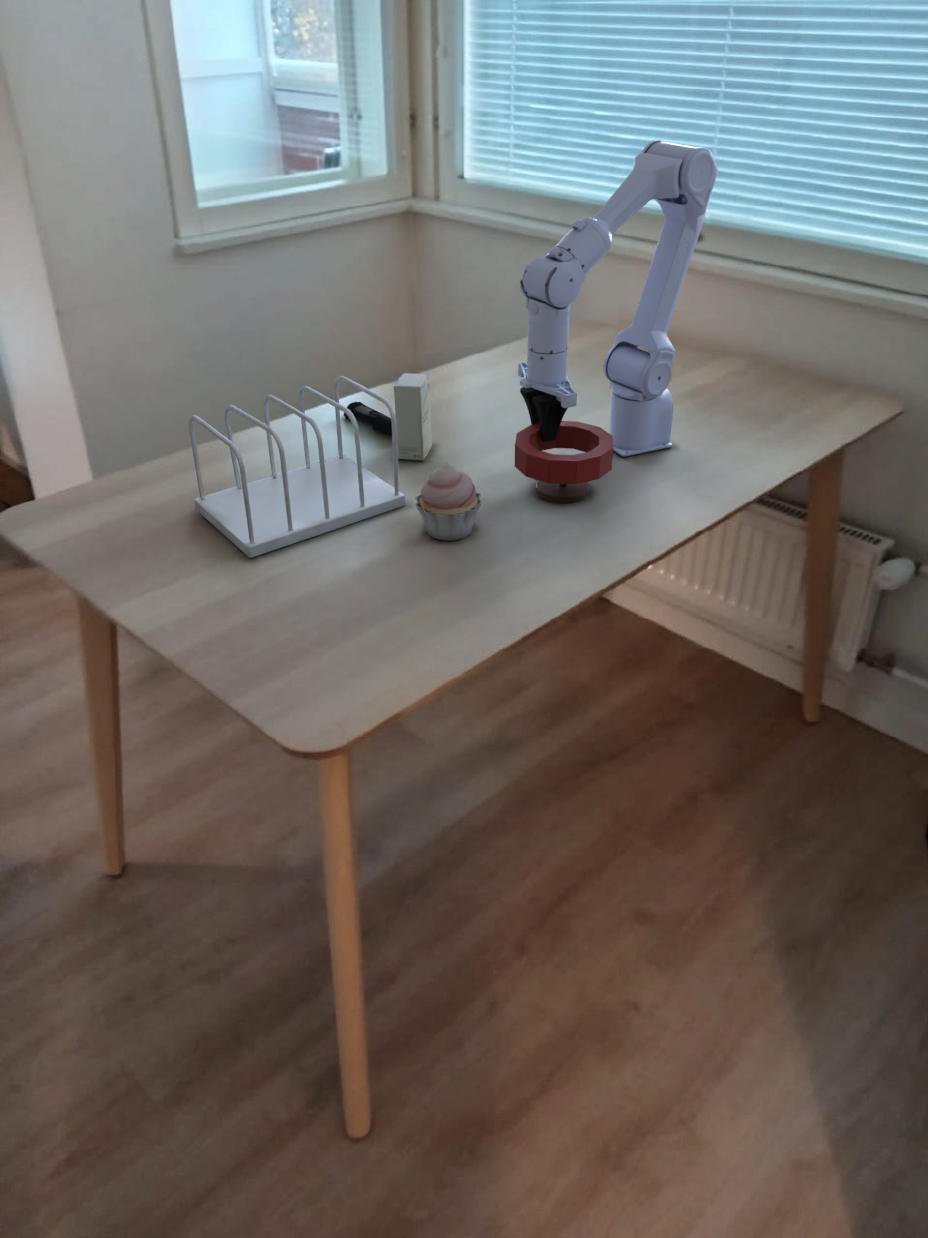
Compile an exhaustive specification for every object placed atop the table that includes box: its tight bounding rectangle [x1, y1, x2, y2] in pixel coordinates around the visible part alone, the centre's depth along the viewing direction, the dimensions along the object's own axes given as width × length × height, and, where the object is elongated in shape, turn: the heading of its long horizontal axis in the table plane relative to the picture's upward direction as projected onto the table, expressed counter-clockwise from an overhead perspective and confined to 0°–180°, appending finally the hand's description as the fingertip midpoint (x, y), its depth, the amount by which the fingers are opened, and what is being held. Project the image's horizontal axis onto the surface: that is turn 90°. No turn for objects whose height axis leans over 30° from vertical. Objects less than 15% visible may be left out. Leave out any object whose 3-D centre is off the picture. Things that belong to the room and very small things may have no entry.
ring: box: [514, 420, 614, 485], centre depth 138 cm, size 14×14×4 cm
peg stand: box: [535, 480, 591, 504], centre depth 140 cm, size 8×8×5 cm
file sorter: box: [188, 375, 407, 559], centre depth 133 cm, size 25×17×16 cm
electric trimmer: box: [343, 401, 392, 437], centre depth 160 cm, size 4×16×3 cm, turn 42°
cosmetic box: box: [393, 372, 433, 461], centre depth 150 cm, size 6×4×12 cm
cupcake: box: [414, 462, 483, 542], centre depth 129 cm, size 9×9×10 cm
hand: (544, 436), depth 143 cm, fingers closed on ring, 2 cm apart
